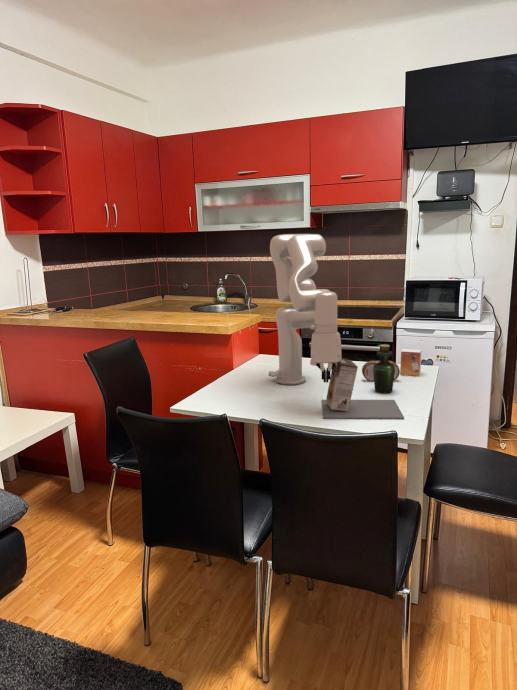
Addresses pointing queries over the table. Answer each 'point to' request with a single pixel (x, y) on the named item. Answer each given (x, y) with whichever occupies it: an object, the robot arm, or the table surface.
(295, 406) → the table surface
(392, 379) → the potion bottle
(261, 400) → the table surface
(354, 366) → the coffee box
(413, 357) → the small box
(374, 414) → the mat
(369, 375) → the tin
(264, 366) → the table surface
